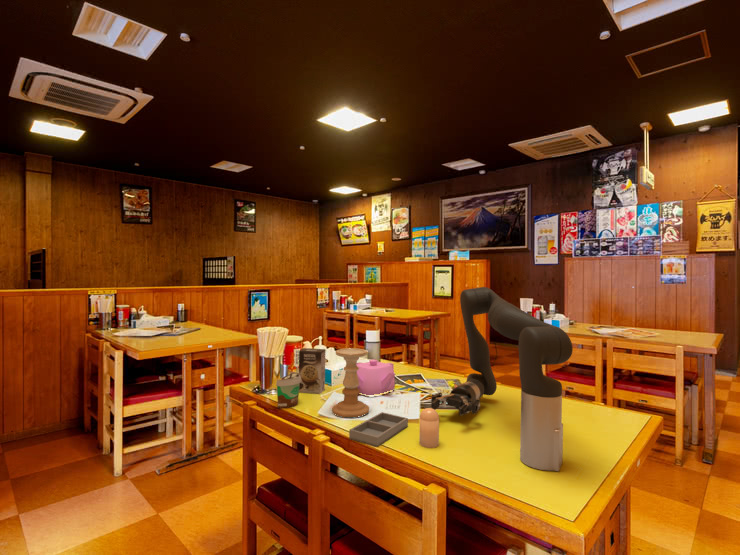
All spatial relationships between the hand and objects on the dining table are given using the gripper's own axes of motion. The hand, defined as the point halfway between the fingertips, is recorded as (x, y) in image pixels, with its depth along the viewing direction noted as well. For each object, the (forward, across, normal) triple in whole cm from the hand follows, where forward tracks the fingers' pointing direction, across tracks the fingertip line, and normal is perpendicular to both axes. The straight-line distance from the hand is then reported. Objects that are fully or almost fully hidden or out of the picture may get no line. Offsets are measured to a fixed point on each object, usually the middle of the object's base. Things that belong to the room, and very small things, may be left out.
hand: (446, 409), depth 117 cm
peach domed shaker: (+12, 0, +6) cm, 13 cm away
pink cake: (-19, -38, +6) cm, 43 cm away
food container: (+10, -53, +6) cm, 54 cm away
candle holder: (+4, -32, +6) cm, 33 cm away
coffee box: (-6, -58, +6) cm, 59 cm away
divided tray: (+13, -15, +6) cm, 21 cm away
